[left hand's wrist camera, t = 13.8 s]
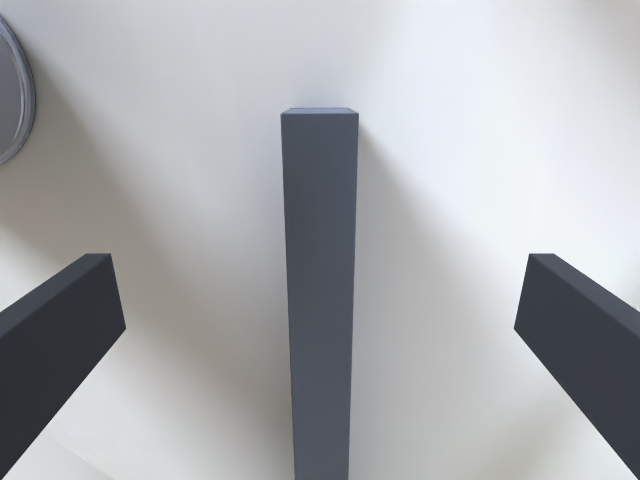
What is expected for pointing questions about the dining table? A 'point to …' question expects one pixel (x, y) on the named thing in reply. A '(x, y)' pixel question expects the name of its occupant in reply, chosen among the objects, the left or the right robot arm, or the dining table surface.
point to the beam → (320, 282)
